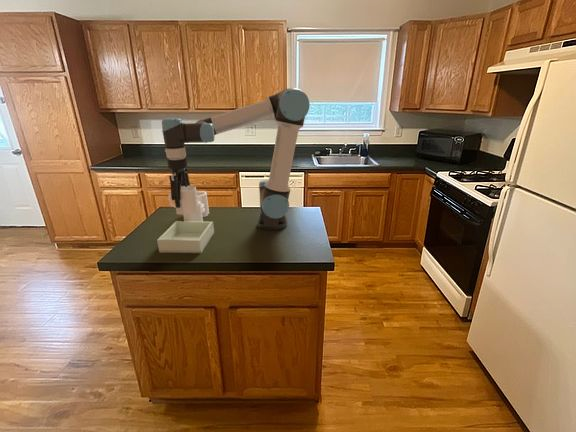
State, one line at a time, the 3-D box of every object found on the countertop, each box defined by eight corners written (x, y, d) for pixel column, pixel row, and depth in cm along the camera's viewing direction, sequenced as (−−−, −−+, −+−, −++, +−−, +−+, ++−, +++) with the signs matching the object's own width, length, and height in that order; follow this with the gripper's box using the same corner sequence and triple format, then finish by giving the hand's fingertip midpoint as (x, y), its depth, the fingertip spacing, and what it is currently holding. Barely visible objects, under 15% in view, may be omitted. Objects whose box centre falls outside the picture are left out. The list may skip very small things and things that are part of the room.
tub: (214, 233, 148) (213, 221, 146) (201, 253, 129) (199, 240, 127) (177, 232, 149) (175, 221, 147) (159, 252, 130) (157, 239, 128)
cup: (196, 214, 130) (193, 191, 126) (167, 214, 129) (163, 191, 126) (200, 207, 137) (197, 185, 134) (173, 207, 137) (169, 185, 133)
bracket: (203, 228, 153) (200, 205, 149) (183, 229, 153) (179, 206, 148) (210, 210, 177) (208, 190, 172) (193, 211, 176) (190, 191, 171)
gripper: (177, 153, 135) (184, 202, 143) (156, 163, 115) (165, 219, 124) (194, 153, 134) (200, 202, 143) (175, 163, 115) (183, 219, 124)
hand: (184, 210), depth 133 cm, fingers closed on cup, 8 cm apart
